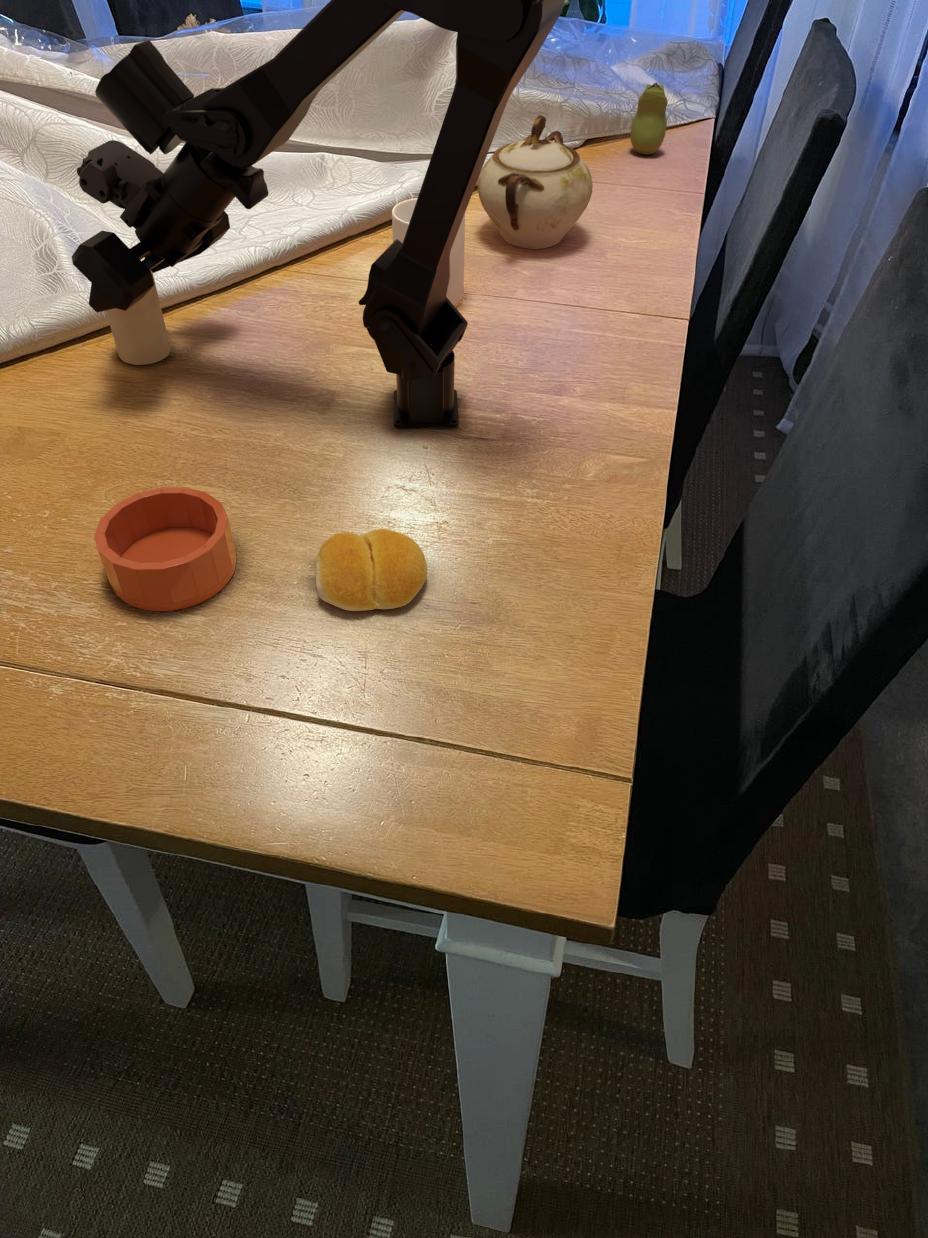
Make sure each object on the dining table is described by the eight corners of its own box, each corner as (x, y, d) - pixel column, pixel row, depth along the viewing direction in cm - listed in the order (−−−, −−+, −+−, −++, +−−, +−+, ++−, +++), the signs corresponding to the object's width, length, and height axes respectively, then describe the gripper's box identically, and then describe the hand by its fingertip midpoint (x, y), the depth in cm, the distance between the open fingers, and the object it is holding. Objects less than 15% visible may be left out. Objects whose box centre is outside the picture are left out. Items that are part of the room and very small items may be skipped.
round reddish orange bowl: (227, 610, 69) (216, 568, 65) (97, 612, 68) (80, 570, 65) (243, 528, 76) (234, 486, 72) (125, 529, 75) (111, 487, 72)
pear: (662, 149, 145) (674, 80, 138) (661, 160, 141) (673, 90, 134) (628, 146, 146) (638, 77, 138) (626, 157, 142) (636, 87, 135)
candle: (144, 370, 93) (119, 279, 86) (107, 356, 95) (81, 265, 88) (181, 349, 96) (161, 259, 89) (145, 335, 98) (122, 246, 91)
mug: (433, 334, 100) (433, 244, 92) (369, 319, 102) (363, 230, 95) (473, 291, 108) (476, 204, 100) (412, 278, 110) (410, 192, 102)
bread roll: (433, 610, 69) (433, 573, 66) (319, 621, 68) (313, 584, 65) (420, 541, 75) (419, 505, 72) (314, 551, 74) (309, 514, 71)
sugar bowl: (560, 275, 111) (573, 148, 100) (452, 254, 115) (453, 128, 104) (604, 219, 124) (619, 100, 113) (505, 201, 128) (511, 85, 117)
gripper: (180, 88, 84) (111, 191, 94) (57, 150, 72) (-7, 261, 82) (265, 186, 88) (190, 275, 98) (163, 261, 76) (89, 354, 86)
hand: (120, 288), depth 91 cm, fingers open, 9 cm apart
